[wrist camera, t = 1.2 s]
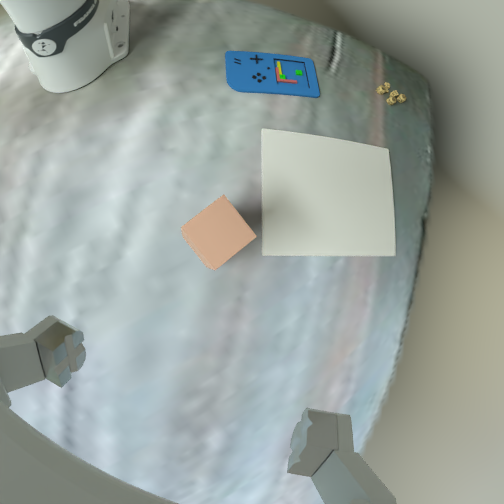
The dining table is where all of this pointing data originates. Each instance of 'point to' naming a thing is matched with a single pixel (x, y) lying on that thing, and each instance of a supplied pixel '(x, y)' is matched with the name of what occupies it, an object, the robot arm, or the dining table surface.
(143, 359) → the dining table surface
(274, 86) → the handheld gaming device
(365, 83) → the dining table surface
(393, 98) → the popcorn pieces
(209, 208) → the terracotta block
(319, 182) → the white mat
